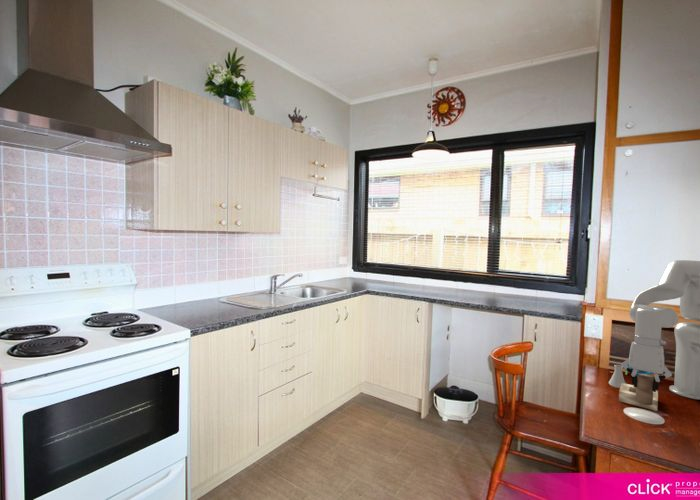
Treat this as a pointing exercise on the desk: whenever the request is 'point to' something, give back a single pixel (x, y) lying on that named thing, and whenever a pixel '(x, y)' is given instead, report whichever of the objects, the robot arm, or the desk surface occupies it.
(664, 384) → the desk surface
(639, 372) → the blue toy figure
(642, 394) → the walnut peg
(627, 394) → the birch holder
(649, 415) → the white round dome
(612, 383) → the flask
